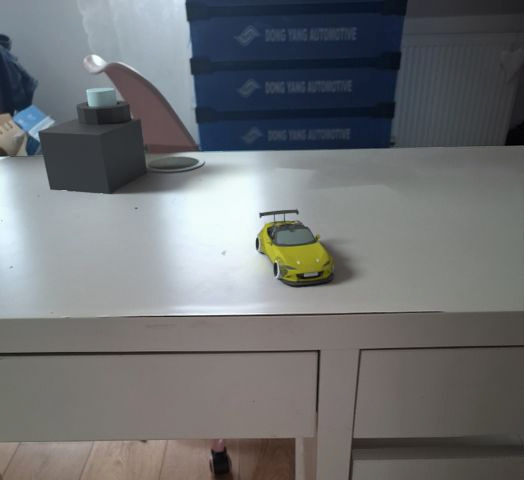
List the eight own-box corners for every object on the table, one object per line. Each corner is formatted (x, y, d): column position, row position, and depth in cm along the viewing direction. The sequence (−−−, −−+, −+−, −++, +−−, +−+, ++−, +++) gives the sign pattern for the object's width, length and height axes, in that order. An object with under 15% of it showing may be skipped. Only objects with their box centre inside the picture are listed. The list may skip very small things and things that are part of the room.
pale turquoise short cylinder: (109, 110, 66) (106, 91, 65) (83, 109, 67) (80, 90, 66) (122, 105, 69) (120, 87, 68) (98, 105, 70) (95, 87, 69)
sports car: (280, 289, 43) (280, 253, 41) (251, 243, 51) (250, 211, 50) (341, 282, 44) (344, 246, 42) (303, 238, 52) (304, 206, 51)
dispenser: (109, 194, 65) (97, 116, 60) (50, 189, 67) (33, 114, 62) (151, 170, 74) (144, 101, 70) (98, 166, 76) (87, 99, 71)
